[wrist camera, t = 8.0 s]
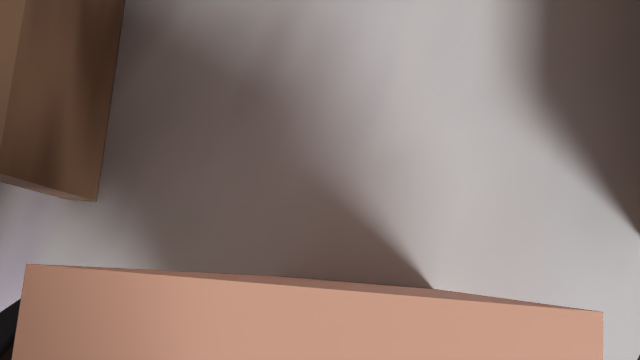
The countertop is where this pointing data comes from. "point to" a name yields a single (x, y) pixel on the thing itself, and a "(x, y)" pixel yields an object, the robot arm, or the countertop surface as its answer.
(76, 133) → the brown u-shaped piece
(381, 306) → the block
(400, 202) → the countertop surface
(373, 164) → the countertop surface
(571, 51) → the countertop surface
